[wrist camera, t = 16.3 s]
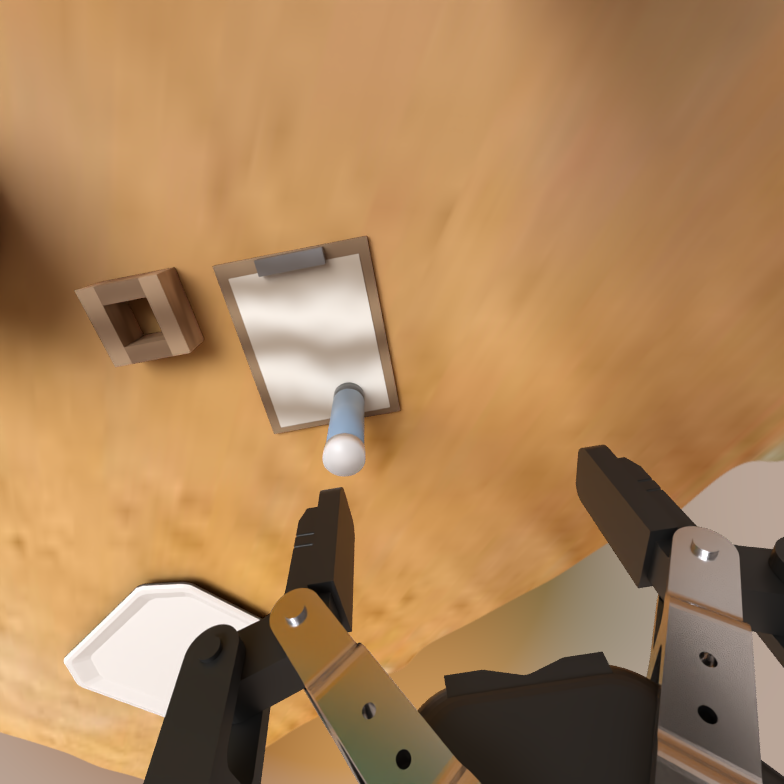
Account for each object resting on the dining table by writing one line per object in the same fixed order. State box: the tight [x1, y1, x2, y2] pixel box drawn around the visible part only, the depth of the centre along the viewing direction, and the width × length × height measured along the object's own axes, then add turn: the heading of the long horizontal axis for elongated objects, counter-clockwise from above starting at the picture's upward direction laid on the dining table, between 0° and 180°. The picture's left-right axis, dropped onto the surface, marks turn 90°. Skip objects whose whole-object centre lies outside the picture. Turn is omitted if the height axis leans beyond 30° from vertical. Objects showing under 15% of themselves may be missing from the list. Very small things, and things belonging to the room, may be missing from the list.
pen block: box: [74, 267, 204, 367], centre depth 36 cm, size 7×7×4 cm
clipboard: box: [213, 236, 400, 434], centre depth 39 cm, size 18×14×2 cm
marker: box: [323, 382, 365, 476], centre depth 37 cm, size 3×3×11 cm
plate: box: [64, 582, 262, 717], centre depth 60 cm, size 29×29×2 cm
